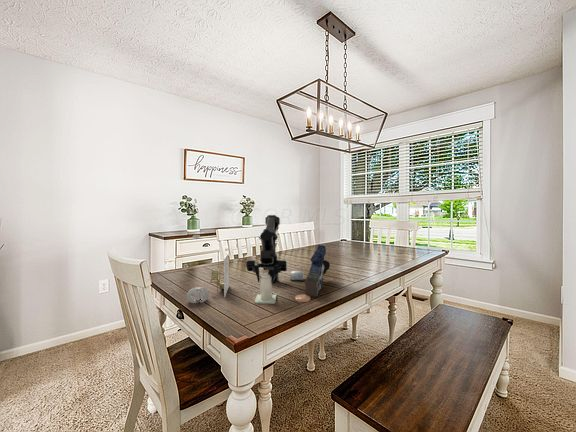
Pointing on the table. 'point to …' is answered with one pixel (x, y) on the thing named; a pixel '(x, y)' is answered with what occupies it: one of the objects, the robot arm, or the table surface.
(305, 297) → the tan disc
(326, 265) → the toy
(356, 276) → the table surface
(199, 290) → the pendant light
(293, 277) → the white rounded cylinder
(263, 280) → the stoneware bottle
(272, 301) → the pad
